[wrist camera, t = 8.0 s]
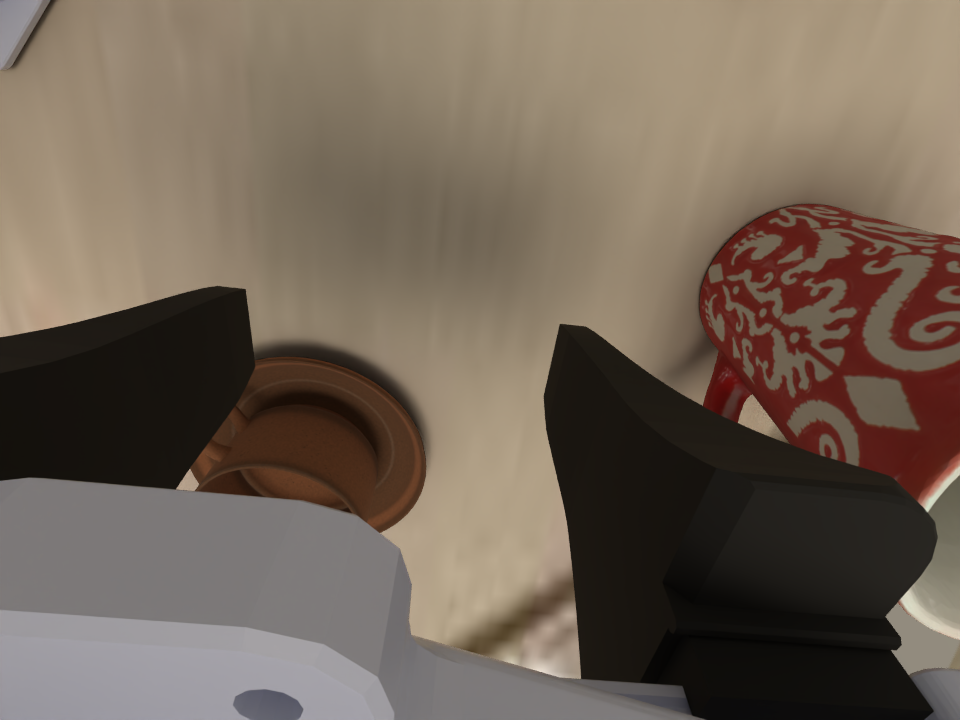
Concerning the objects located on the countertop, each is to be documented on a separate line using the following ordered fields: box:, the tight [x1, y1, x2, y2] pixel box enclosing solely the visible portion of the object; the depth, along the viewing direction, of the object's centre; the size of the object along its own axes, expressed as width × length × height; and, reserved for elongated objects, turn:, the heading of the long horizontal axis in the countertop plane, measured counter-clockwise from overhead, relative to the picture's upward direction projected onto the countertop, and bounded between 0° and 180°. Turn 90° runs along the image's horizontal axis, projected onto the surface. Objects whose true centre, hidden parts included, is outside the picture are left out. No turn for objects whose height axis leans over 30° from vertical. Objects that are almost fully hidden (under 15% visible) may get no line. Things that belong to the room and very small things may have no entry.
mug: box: [700, 204, 960, 640], centre depth 17 cm, size 13×9×14 cm
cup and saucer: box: [190, 357, 426, 533], centre depth 24 cm, size 12×12×6 cm
